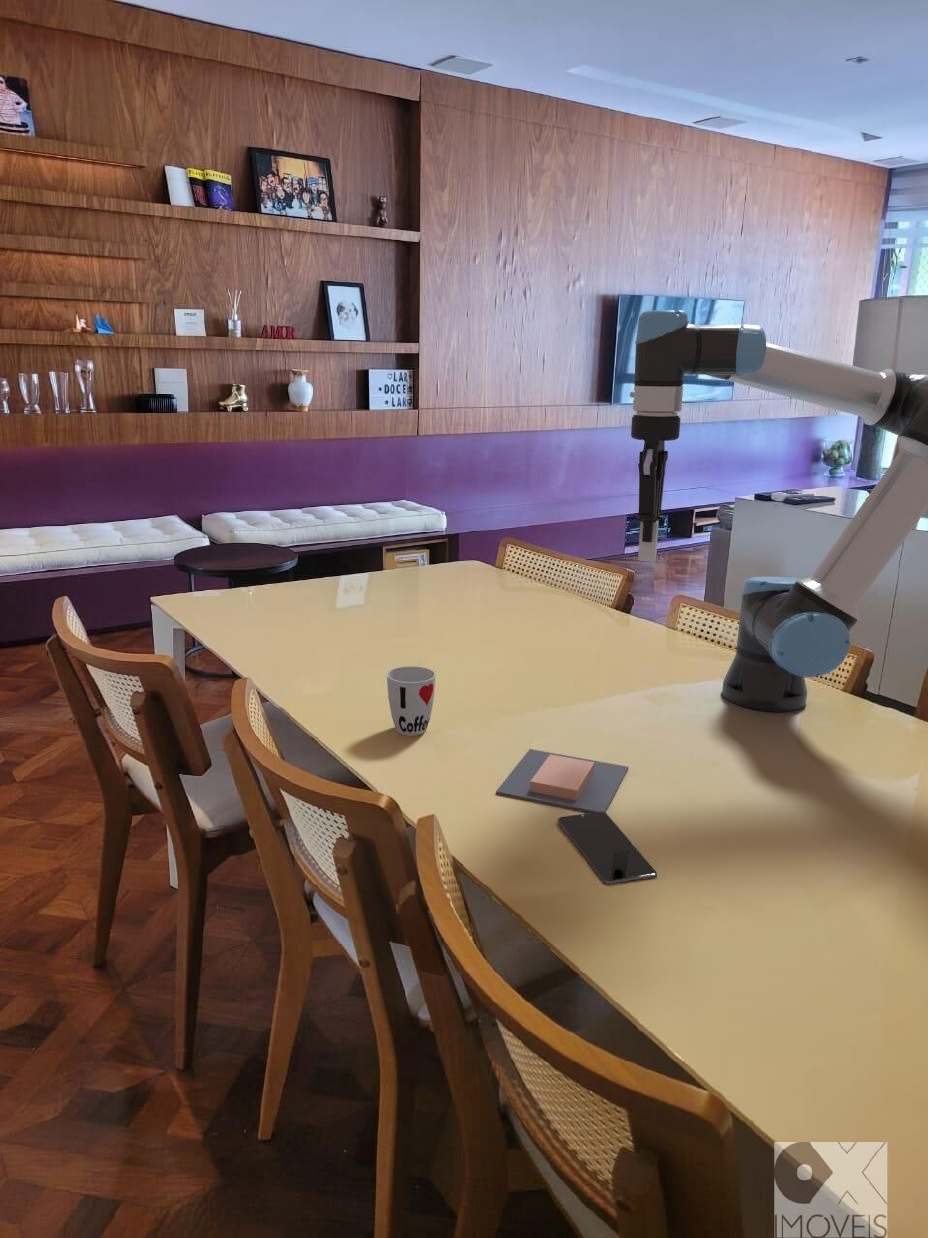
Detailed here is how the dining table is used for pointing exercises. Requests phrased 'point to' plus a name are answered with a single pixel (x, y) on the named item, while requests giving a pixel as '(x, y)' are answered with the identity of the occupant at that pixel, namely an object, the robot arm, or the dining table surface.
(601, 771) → the mat
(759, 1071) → the dining table surface
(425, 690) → the cup
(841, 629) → the robot arm
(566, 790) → the slab
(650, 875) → the smartphone
